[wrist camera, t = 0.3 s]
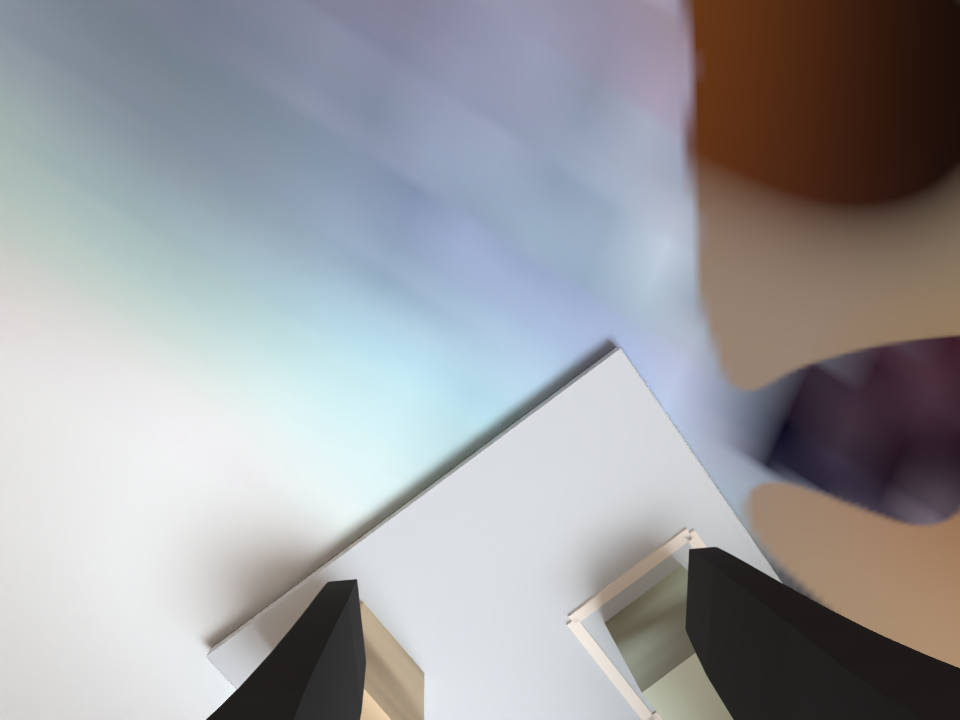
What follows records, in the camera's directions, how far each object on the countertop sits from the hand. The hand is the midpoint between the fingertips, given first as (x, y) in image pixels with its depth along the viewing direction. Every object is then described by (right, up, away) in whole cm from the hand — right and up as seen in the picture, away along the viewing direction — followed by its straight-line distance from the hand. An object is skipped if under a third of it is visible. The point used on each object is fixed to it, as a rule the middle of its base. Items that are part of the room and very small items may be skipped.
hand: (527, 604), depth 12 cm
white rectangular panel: (+1, -7, +11) cm, 13 cm away
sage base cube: (+7, -6, +11) cm, 15 cm away
